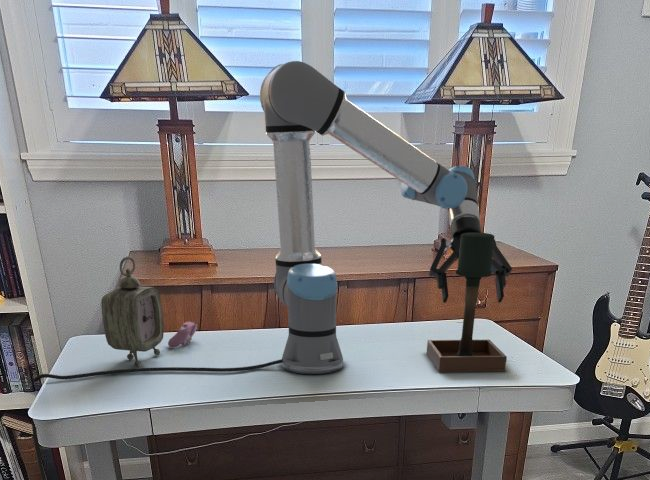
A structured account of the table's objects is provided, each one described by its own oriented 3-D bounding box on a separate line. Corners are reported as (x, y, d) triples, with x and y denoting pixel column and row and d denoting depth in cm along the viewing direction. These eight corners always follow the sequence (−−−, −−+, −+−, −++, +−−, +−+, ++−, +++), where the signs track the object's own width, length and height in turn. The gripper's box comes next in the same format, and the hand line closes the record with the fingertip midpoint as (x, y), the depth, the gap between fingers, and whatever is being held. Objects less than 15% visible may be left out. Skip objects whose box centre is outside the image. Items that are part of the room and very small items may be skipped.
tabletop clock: (141, 370, 170) (127, 262, 158) (107, 367, 172) (91, 260, 160) (166, 353, 183) (156, 253, 171) (135, 351, 184) (122, 251, 172)
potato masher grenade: (482, 356, 182) (497, 233, 167) (479, 365, 174) (494, 237, 160) (450, 353, 184) (461, 231, 169) (445, 362, 176) (457, 235, 162)
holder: (438, 372, 172) (440, 357, 170) (426, 354, 185) (427, 340, 184) (504, 371, 173) (506, 356, 171) (487, 353, 187) (489, 339, 185)
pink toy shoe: (181, 354, 188) (190, 331, 184) (165, 346, 187) (174, 323, 184) (193, 344, 196) (202, 322, 193) (178, 336, 196) (187, 314, 192)
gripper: (509, 235, 180) (518, 307, 174) (413, 234, 178) (419, 308, 172) (518, 215, 173) (528, 290, 167) (418, 214, 171) (425, 290, 165)
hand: (473, 299), depth 169 cm, fingers open, 13 cm apart
